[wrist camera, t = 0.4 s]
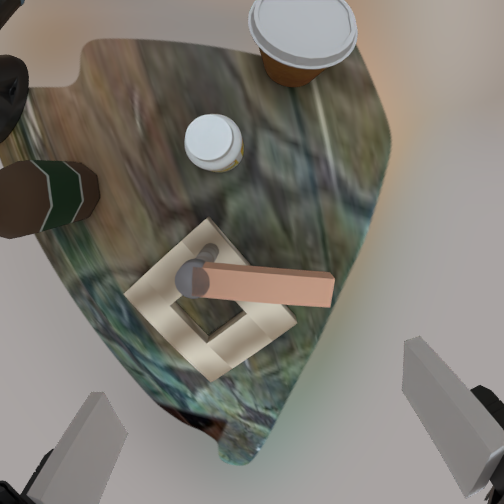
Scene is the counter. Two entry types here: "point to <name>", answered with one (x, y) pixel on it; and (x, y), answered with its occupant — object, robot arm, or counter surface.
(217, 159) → the supplement bottle
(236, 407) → the counter surface
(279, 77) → the disposable coffee cup
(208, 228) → the keeper board
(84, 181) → the beer bottle
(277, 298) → the bar
